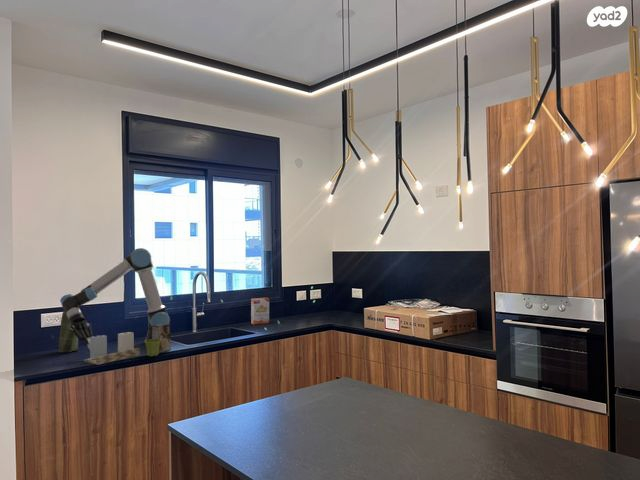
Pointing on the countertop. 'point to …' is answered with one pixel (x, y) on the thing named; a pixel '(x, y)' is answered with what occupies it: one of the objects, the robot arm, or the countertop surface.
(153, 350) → the plant pot
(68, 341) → the pouch
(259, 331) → the countertop surface
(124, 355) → the console
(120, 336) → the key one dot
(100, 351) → the grey upright block
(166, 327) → the coffee box
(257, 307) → the cracker box
